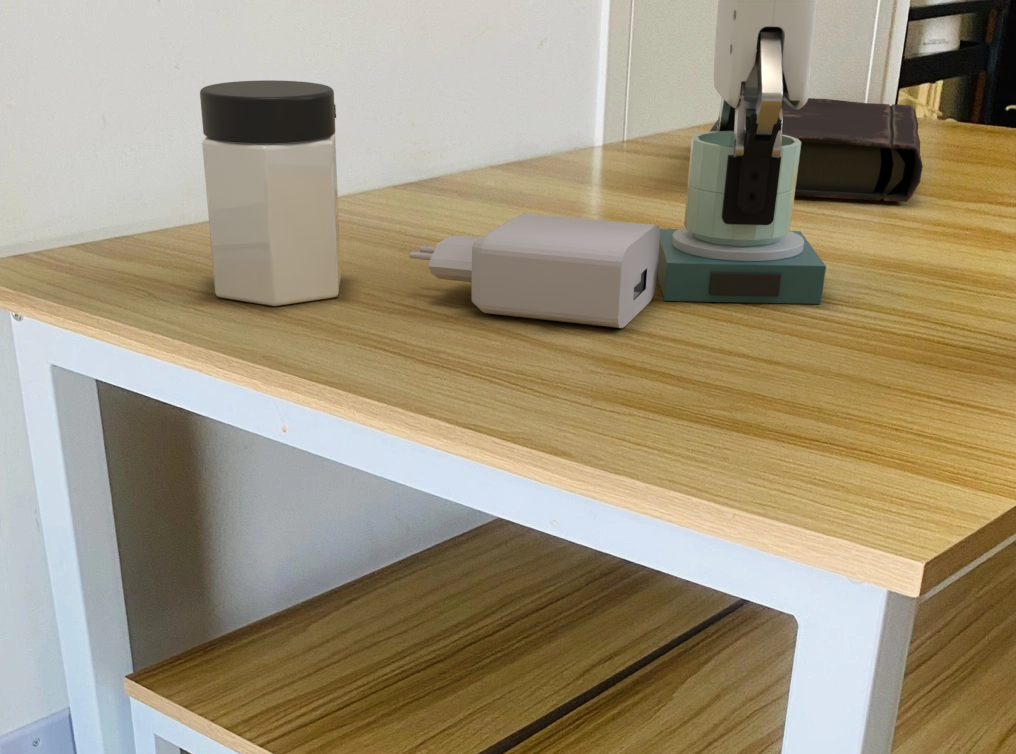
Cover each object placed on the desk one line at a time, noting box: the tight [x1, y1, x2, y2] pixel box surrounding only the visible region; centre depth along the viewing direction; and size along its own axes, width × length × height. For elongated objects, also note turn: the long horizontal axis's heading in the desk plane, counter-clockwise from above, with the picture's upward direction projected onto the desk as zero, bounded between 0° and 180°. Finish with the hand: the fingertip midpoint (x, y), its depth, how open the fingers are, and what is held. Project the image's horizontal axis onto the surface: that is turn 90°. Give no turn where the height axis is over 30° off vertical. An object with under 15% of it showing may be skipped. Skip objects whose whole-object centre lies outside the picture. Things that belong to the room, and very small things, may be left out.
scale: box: [657, 226, 827, 305], centre depth 91 cm, size 10×10×3 cm
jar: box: [199, 79, 342, 307], centre depth 86 cm, size 9×8×12 cm
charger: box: [408, 213, 661, 329], centre depth 86 cm, size 5×9×15 cm
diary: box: [708, 97, 924, 203], centre depth 125 cm, size 19×25×5 cm
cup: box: [683, 131, 801, 246], centre depth 89 cm, size 7×7×6 cm
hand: (739, 208), depth 90 cm, fingers closed on cup, 6 cm apart
